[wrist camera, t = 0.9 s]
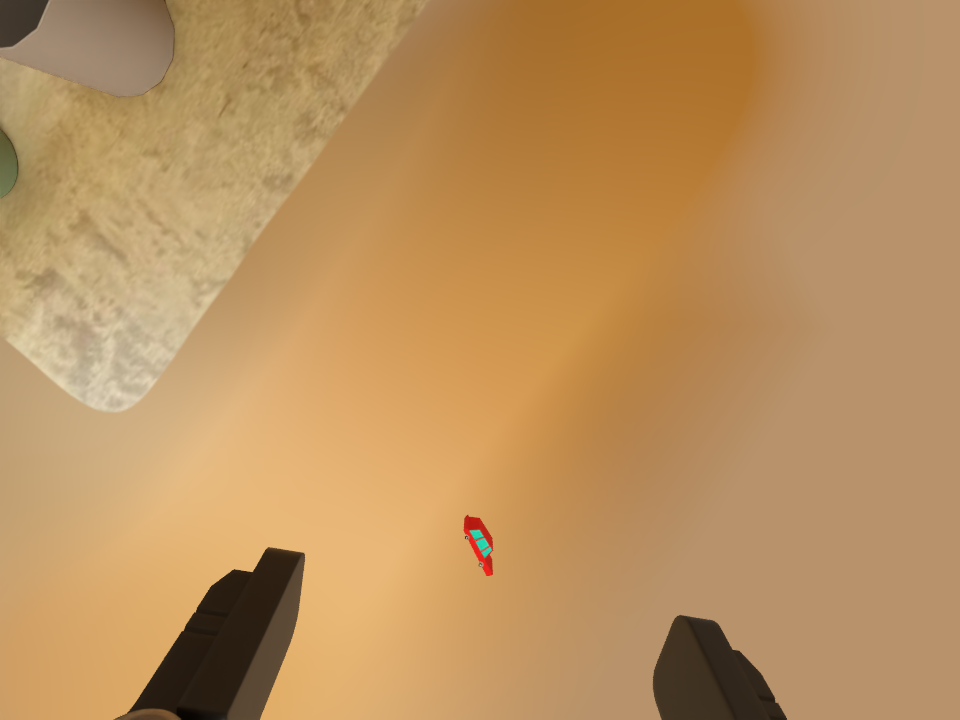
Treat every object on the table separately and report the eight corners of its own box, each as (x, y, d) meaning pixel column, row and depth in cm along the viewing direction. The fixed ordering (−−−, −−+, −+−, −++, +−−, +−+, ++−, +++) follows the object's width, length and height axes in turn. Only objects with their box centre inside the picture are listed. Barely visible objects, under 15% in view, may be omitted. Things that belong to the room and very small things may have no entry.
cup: (164, -37, 38) (35, -132, 28) (183, 92, 40) (67, 44, 30) (54, -25, 39) (-108, -113, 29) (77, 100, 40) (-69, 56, 31)
